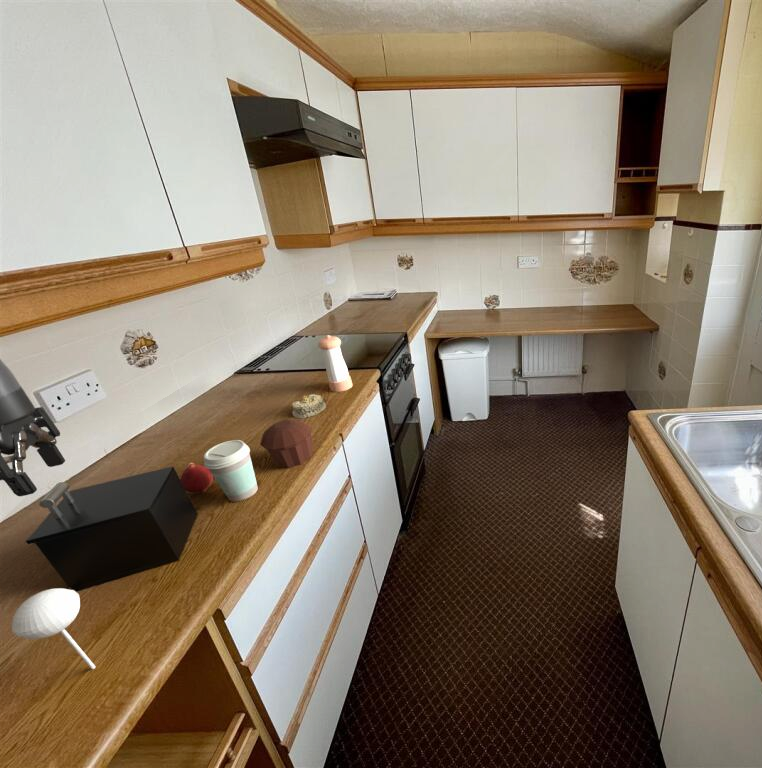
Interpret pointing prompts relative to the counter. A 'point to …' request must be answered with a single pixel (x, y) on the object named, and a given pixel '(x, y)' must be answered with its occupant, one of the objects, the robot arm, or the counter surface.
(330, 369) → the pepper shaker
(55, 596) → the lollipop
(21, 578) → the counter surface
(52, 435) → the robot arm
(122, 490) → the bin lid
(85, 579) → the bin
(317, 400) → the cake
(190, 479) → the onion
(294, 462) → the muffin
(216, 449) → the coffee cup
